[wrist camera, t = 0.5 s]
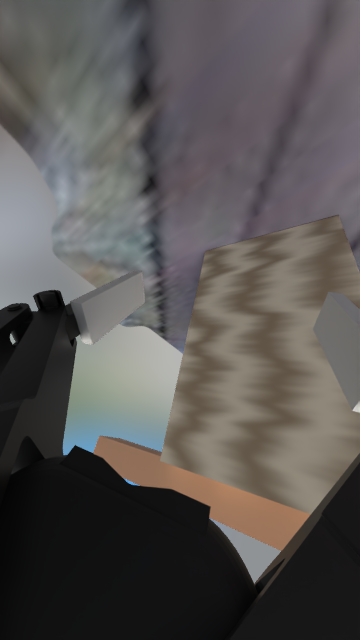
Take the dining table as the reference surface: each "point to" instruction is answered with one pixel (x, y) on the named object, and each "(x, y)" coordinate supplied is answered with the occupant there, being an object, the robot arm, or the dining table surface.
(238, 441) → the pedestal
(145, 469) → the lever bar
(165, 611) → the robot arm
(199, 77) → the dining table surface
